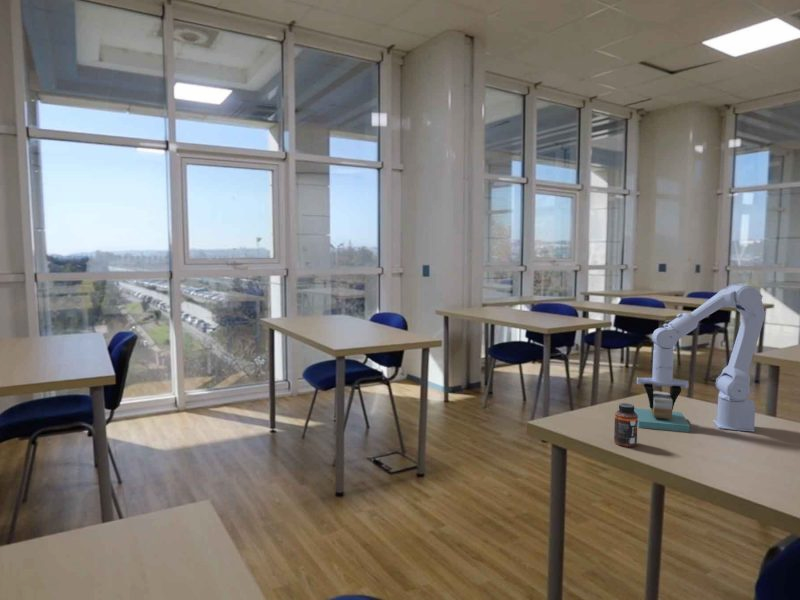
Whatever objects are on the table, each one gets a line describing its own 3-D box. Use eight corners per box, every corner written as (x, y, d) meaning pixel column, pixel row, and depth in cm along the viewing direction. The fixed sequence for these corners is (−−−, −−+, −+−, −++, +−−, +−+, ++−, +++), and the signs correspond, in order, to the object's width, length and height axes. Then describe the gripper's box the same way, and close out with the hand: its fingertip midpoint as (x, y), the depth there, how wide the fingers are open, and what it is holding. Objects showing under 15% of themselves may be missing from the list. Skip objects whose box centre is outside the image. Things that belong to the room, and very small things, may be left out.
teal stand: (681, 418, 169) (681, 412, 169) (689, 432, 156) (689, 425, 156) (634, 414, 174) (634, 408, 174) (638, 427, 161) (638, 421, 160)
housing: (671, 418, 160) (672, 400, 159) (653, 417, 162) (654, 398, 161) (667, 411, 167) (668, 393, 167) (650, 409, 169) (651, 391, 168)
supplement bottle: (639, 448, 144) (640, 408, 143) (616, 447, 145) (617, 407, 144) (634, 440, 150) (635, 402, 148) (612, 439, 151) (613, 401, 150)
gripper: (686, 365, 165) (684, 406, 166) (636, 362, 169) (634, 402, 171) (690, 369, 158) (688, 413, 159) (638, 366, 163) (637, 408, 164)
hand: (661, 408), depth 164 cm, fingers closed on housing, 5 cm apart
